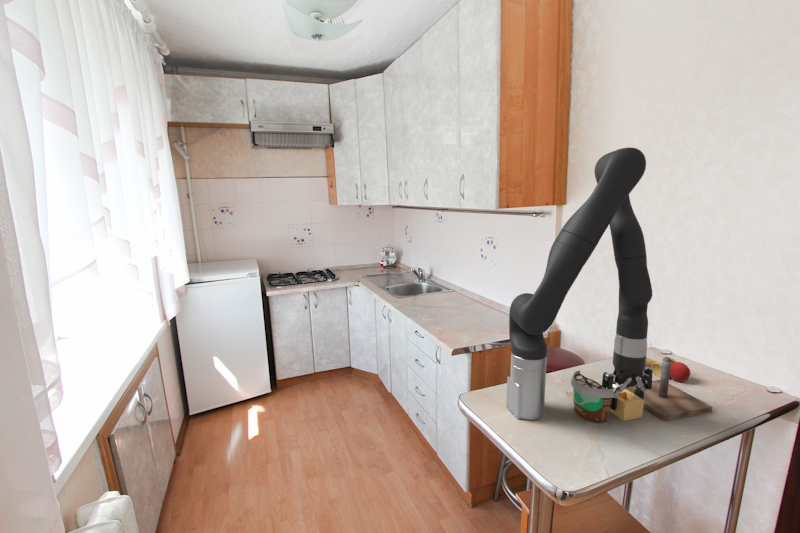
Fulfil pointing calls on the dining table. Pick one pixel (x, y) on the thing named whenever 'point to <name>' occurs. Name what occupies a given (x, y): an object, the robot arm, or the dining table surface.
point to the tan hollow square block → (628, 406)
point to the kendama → (676, 371)
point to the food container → (591, 399)
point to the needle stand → (670, 398)
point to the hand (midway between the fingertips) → (625, 405)
